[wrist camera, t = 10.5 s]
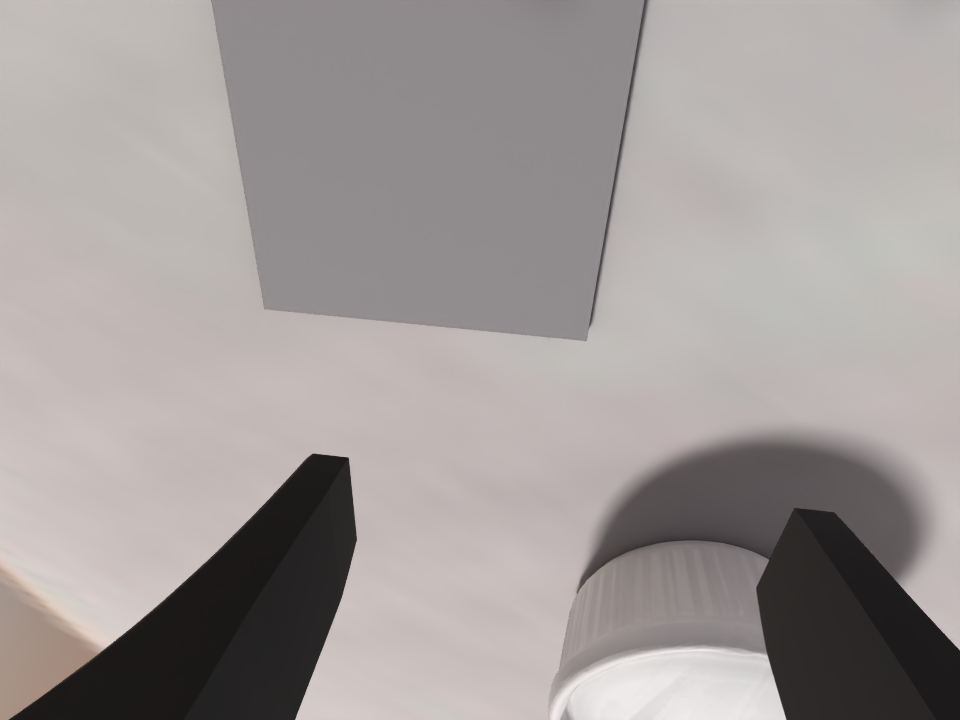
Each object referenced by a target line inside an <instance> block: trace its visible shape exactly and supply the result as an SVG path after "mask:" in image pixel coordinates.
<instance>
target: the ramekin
mask: <svg viewBox="0 0 960 720" xmlns="http://www.w3.org/2000/svg"><path fill="white" fill-rule="evenodd" d="M768 562H769V559H767V558H765V557H763V556H761V555H759V554H757V553H755V552H752V551H750V550H747V549H744V548H741V547H737V546H734V545H730V544H725V543H718V542H711V541H698V540H686V541H670V542H663V543H657V544H652V545H648V546H644V547H641V548H637V549H634V550H632V551H629V552H626V553H624V554H622V555H620V556H618V557H616V558H614V559H613V560H611V561H609V562H608V563H606V564H605V565H604V566H602V567H601V568H600V569H599V570H597V571H596V572H595V573H594V574H593V575H592V576H591V577H590V578H589V579H587V581H586V582H585V584H584V585H583V586H582V587H581V588H580V590H579V592H578V594H577V596H576V597H575V599H574V601H573V604H572V608H571V610H570V614H569V619H568V624H567V629H566V634H565V639H564V644H563V649H562V654H561V661H560V667H559V671H558V673H557V674H556V676H555V678H554V680H553V683H552V685H551V689H550V693H549V706H548V715H549V720H786V717H785V714H784V710H783V707H782V704H781V700H780V697H779V693H778V690H777V687H776V683H775V680H774V676H773V673H772V670H771V666H770V662H769V659H768V655H767V652H766V646H765V641H764V635H763V630H762V624H761V618H760V612H759V605H758V598H757V592H756V587H757V585H758V583H759V580H760V578H761V576H762V574H763V572H764V570H765V568H766V566H767V564H768Z"/></svg>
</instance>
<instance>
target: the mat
mask: <svg viewBox="0 0 960 720" xmlns="http://www.w3.org/2000/svg"><path fill="white" fill-rule="evenodd" d="M211 1H212V7H213V13H214V18H215V24H216V30H217V36H218V42H219V48H220V53H221V59H222V65H223V71H224V77H225V82H226V88H227V94H228V100H229V106H230V112H231V117H232V123H233V129H234V135H235V141H236V146H237V152H238V158H239V164H240V170H241V175H242V181H243V187H244V193H245V199H246V205H247V210H248V216H249V222H250V228H251V234H252V239H253V245H254V251H255V257H256V263H257V269H258V274H259V280H260V286H261V292H262V298H263V303H264V309H267V310H277V311H287V312H297V313H307V314H318V315H328V316H338V317H348V318H358V319H369V320H379V321H389V322H399V323H409V324H419V325H430V326H440V327H450V328H460V329H470V330H480V331H491V332H501V333H511V334H521V335H531V336H541V337H552V338H562V339H572V340H582V341H586V340H587V335H588V329H589V323H590V317H591V311H592V305H593V299H594V294H595V288H596V282H597V276H598V270H599V264H600V258H601V252H602V247H603V241H604V235H605V229H606V223H607V217H608V211H609V206H610V200H611V194H612V188H613V182H614V176H615V170H616V164H617V159H618V153H619V147H620V141H621V135H622V129H623V123H624V118H625V112H626V106H627V100H628V94H629V88H630V82H631V76H632V71H633V65H634V59H635V53H636V47H637V41H638V35H639V30H640V24H641V18H642V12H643V6H644V0H211Z"/></svg>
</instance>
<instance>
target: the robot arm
mask: <svg viewBox="0 0 960 720" xmlns="http://www.w3.org/2000/svg"><path fill="white" fill-rule="evenodd" d="M356 541H357V536H356V526H355V516H354V506H353V496H352V486H351V476H350V466H349V458H347V457H338V456H329V455H321V454H312V455H310V456H309V457H308V458H307V459H306V460H305V461H304V462H303V463H302V464H301V465H300V466H299V467H298V468H297V470H296V471H295V472H294V473H293V474H292V475H291V476H290V477H289V478H288V479H287V480H286V482H285V483H284V484H283V485H282V486H281V487H280V488H279V489H278V490H277V491H276V492H275V493H274V494H273V496H272V497H271V498H270V499H269V500H268V501H267V502H266V503H265V504H264V505H263V506H262V507H261V508H260V509H259V510H258V511H257V512H256V513H255V514H254V515H253V516H252V517H251V518H250V519H249V520H248V521H247V522H246V523H245V524H244V525H243V526H242V527H241V528H240V529H239V530H238V531H237V532H236V533H235V534H234V535H233V536H232V537H231V538H230V539H229V540H228V541H227V542H226V543H225V544H224V545H223V546H222V547H221V548H220V549H219V550H218V551H217V552H216V553H215V554H214V555H213V556H212V557H211V558H210V559H209V560H208V561H207V562H206V563H205V564H203V565H202V566H201V567H200V568H199V569H198V570H197V571H196V572H195V573H194V574H192V575H191V576H190V577H189V578H188V579H187V580H186V581H185V582H184V583H183V584H181V585H180V586H179V587H178V588H177V589H176V590H175V591H174V592H173V593H172V594H170V595H169V596H168V597H167V598H166V599H165V600H164V601H163V602H161V603H160V604H159V605H158V606H157V607H156V608H154V609H153V610H152V611H151V612H150V613H149V614H147V615H146V616H145V617H144V618H143V619H142V620H140V621H139V622H138V623H137V624H135V625H134V626H133V627H132V628H131V629H129V630H128V631H127V632H126V633H124V634H123V635H122V636H121V637H119V638H118V639H117V640H116V641H114V642H113V643H112V644H111V645H109V646H108V647H107V648H106V649H104V650H103V651H102V652H101V653H99V654H98V655H97V656H95V657H94V658H93V659H92V660H90V661H89V662H88V663H87V664H85V665H84V666H82V667H81V668H79V669H78V670H77V671H76V672H74V673H73V674H71V675H70V676H69V677H67V678H66V679H65V680H63V681H62V682H61V683H59V684H58V685H57V686H55V687H54V688H53V689H51V690H50V691H49V692H47V693H46V694H44V695H43V696H42V697H40V698H39V699H38V700H36V701H35V702H33V703H32V704H31V705H29V706H28V707H26V708H25V709H23V710H22V711H21V712H19V713H18V714H16V715H15V716H13V717H12V718H10V719H9V720H295V718H296V716H297V713H298V710H299V708H300V705H301V703H302V700H303V697H304V695H305V692H306V690H307V687H308V685H309V682H310V679H311V677H312V674H313V672H314V669H315V666H316V664H317V661H318V659H319V656H320V653H321V651H322V648H323V646H324V643H325V640H326V638H327V635H328V633H329V630H330V627H331V625H332V622H333V619H334V617H335V614H336V612H337V609H338V606H339V603H340V601H341V598H342V595H343V591H344V587H345V584H346V580H347V576H348V572H349V569H350V565H351V561H352V557H353V553H354V549H355V545H356ZM756 592H757V598H758V605H759V612H760V618H761V624H762V630H763V635H764V641H765V646H766V652H767V655H768V659H769V662H770V666H771V670H772V673H773V676H774V680H775V683H776V687H777V690H778V693H779V697H780V700H781V704H782V707H783V710H784V714H785V717H786V720H960V650H959V649H958V648H957V647H956V646H955V645H954V644H953V643H952V642H951V641H950V640H949V639H948V637H947V636H946V635H945V634H944V633H943V632H942V631H941V630H940V629H939V628H938V627H937V626H936V625H935V623H934V622H933V621H932V620H931V619H930V618H929V617H928V616H927V615H926V614H925V613H924V612H923V610H922V609H921V608H920V607H919V606H918V605H917V604H916V603H915V602H914V601H913V599H912V598H911V597H910V596H909V595H908V594H907V593H906V592H905V591H904V589H903V588H902V587H901V586H900V585H899V584H898V583H897V582H896V581H895V579H894V578H893V577H892V576H891V575H890V574H889V573H888V572H887V570H886V569H885V568H884V567H883V566H882V565H881V564H880V563H879V561H878V560H877V559H876V558H875V557H874V556H873V555H872V554H871V552H870V551H869V550H868V549H867V548H866V547H865V546H864V545H863V543H862V542H861V541H860V540H859V539H858V538H857V537H856V536H855V535H854V533H853V532H852V531H851V530H850V529H849V528H848V527H847V526H846V525H845V524H844V522H843V521H842V520H841V519H840V518H839V517H838V516H837V515H836V514H835V513H834V512H825V511H816V510H807V509H799V508H794V510H793V512H792V514H791V516H790V518H789V520H788V523H787V525H786V527H785V529H784V531H783V533H782V535H781V537H780V539H779V541H778V543H777V545H776V547H775V549H774V551H773V554H772V556H771V558H770V560H769V562H768V564H767V566H766V568H765V570H764V572H763V574H762V576H761V578H760V580H759V583H758V585H757V587H756Z"/></svg>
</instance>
